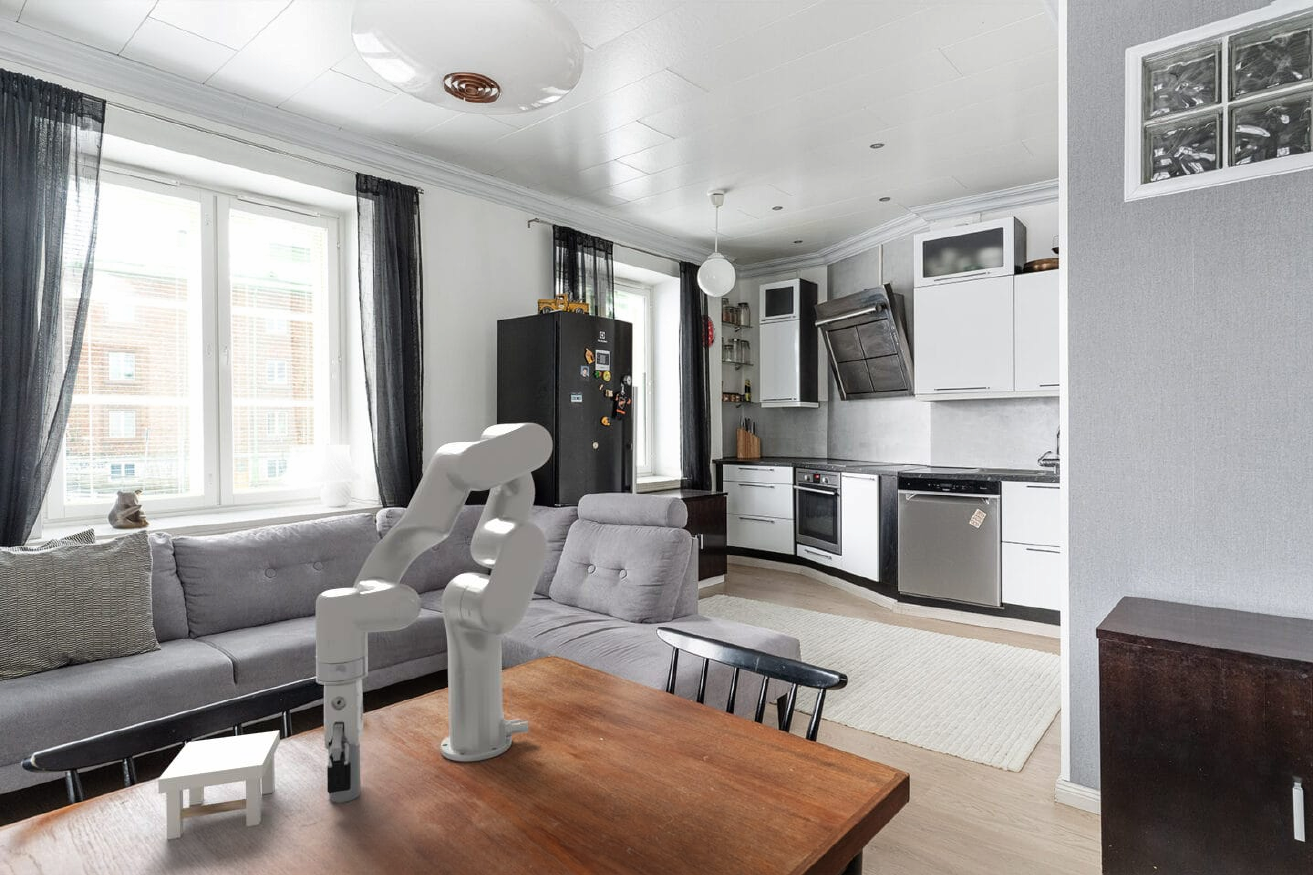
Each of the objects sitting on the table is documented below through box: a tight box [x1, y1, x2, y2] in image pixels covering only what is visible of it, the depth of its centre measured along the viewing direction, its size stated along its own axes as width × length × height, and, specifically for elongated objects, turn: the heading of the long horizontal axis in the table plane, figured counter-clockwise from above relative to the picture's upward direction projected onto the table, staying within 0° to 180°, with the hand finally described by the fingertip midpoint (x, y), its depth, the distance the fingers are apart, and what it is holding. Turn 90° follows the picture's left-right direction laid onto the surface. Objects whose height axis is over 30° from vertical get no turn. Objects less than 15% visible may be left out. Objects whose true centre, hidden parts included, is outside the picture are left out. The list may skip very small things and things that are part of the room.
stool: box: [157, 730, 281, 841], centre depth 108 cm, size 13×13×9 cm
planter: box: [327, 729, 361, 804], centre depth 112 cm, size 4×4×10 cm
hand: (342, 776), depth 112 cm, fingers open, 9 cm apart
